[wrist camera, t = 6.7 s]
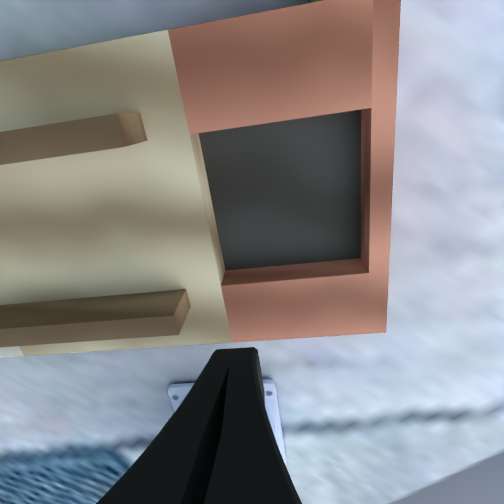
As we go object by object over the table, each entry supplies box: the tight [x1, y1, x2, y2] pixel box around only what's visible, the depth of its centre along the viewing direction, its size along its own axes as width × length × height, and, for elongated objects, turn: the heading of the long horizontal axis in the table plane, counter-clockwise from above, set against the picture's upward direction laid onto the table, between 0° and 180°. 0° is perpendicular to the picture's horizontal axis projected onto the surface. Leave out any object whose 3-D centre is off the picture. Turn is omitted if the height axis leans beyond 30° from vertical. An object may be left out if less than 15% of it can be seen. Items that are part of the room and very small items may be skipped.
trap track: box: [0, 0, 401, 358], centre depth 17 cm, size 16×31×4 cm, turn 98°
